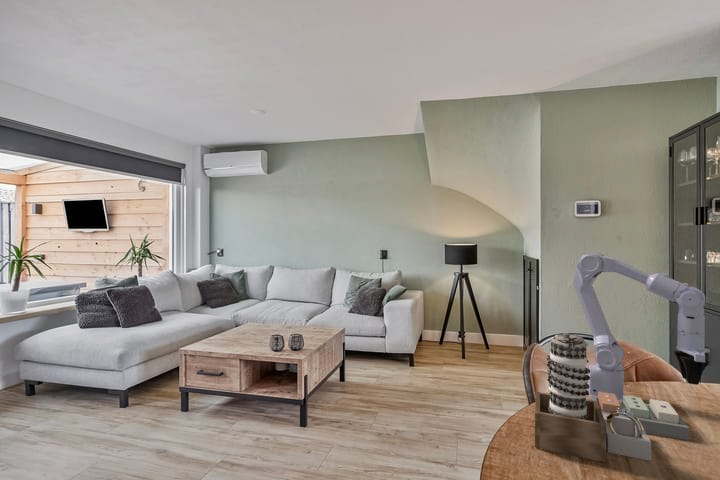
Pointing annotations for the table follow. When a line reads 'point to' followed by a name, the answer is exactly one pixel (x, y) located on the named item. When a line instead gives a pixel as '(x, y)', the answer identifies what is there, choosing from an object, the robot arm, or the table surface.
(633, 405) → the tile three sage
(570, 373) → the decorative candle
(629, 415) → the ring
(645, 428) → the button board
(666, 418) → the tile one cream
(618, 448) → the bracelet dish
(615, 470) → the table surface
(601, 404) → the tile two terracotta
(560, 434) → the box
